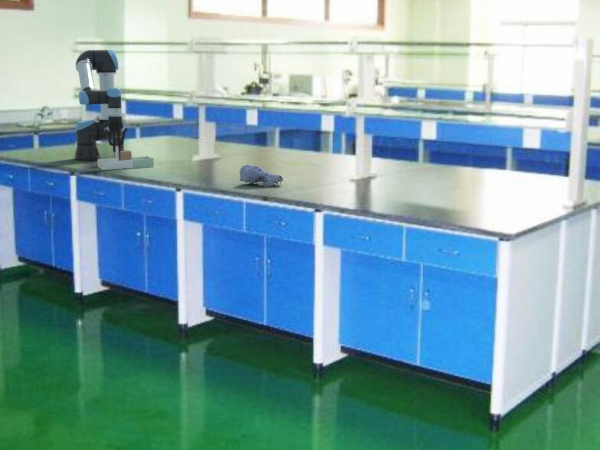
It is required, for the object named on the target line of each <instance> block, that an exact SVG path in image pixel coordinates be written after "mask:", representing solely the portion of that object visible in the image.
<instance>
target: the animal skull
mask: <svg viewBox="0 0 600 450" xmlns="http://www.w3.org/2000/svg"><path fill="white" fill-rule="evenodd" d="M239 177H240V178H239V181H240V182H244V183H246V184H247V183H248V184H251V185H254V184H257V183H261V184H262V186H263V187H274V185H275V184H276V185H277V186H279V184H280V185H281V183H282V182H284V179H283V177H282V176H281V175H278V174H273V173H270V172H268V171H267V170H266V169H263V168H262V167H260V166H258V165H252V164H245V165H242V166H241V167H240V170H239Z"/></svg>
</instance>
